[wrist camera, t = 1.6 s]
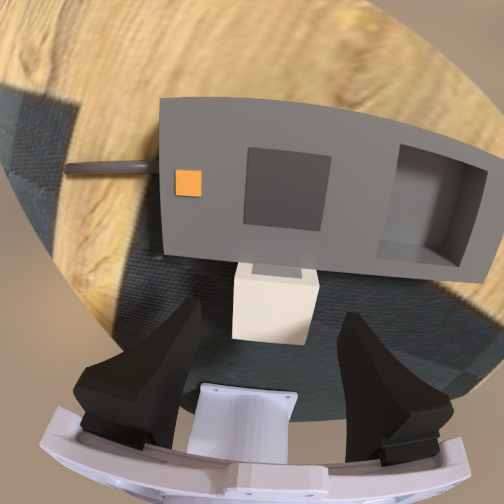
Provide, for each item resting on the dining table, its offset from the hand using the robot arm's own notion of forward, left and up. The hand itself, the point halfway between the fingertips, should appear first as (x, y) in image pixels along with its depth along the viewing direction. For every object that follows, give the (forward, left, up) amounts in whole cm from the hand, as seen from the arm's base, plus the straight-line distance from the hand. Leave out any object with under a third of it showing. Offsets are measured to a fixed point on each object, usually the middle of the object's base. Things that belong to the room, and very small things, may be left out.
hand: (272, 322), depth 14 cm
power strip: (0, +6, -6) cm, 8 cm away
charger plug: (0, 0, -6) cm, 6 cm away
